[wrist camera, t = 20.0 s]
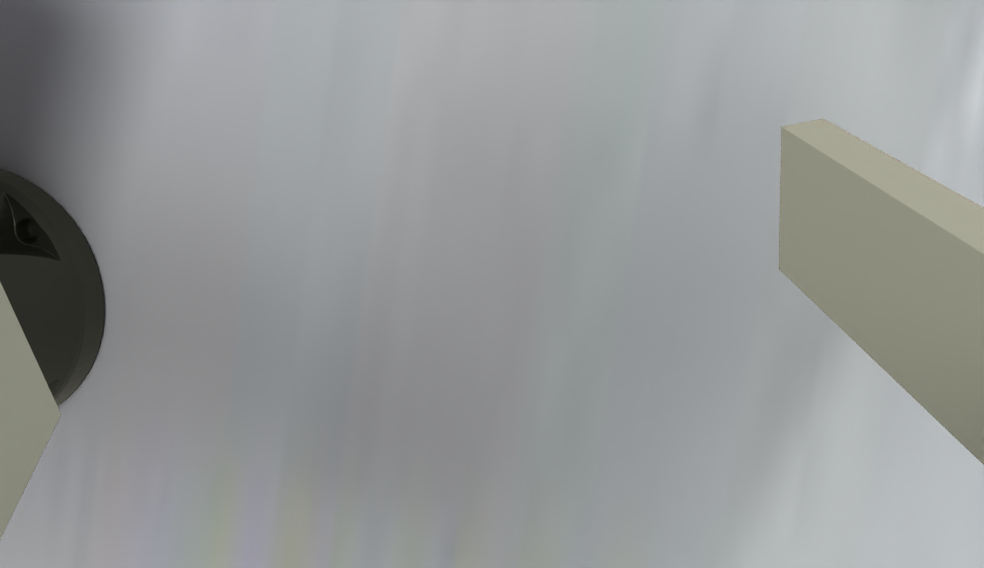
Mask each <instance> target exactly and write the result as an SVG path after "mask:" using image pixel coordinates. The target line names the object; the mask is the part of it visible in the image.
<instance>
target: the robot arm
mask: <svg viewBox="0 0 984 568" xmlns="http://www.w3.org/2000/svg"><path fill="white" fill-rule="evenodd" d="M779 270H780V271H781V272H782V273H783V274H784V275H785V276H787V277H788V278H789V279H790V280H791V281H792V282H793V283H794V284H795V285H796V286H797V287H798V288H799V289H800V290H801V291H802V292H803V293H804V294H805V295H806V296H807V297H808V298H810V299H811V300H812V301H813V302H814V303H815V304H816V305H817V306H818V307H819V308H820V309H821V310H822V311H823V312H824V313H825V314H826V315H827V316H828V317H829V318H830V319H832V320H833V321H834V322H835V323H836V324H837V325H838V326H839V327H840V328H841V329H842V330H843V331H844V332H845V333H846V334H847V335H848V336H849V337H850V338H851V339H852V340H854V341H855V342H856V343H857V344H858V345H859V346H860V347H861V348H862V349H863V350H864V351H865V352H866V353H867V354H868V355H869V356H870V357H871V358H872V359H873V360H874V361H875V362H877V363H878V364H879V365H880V366H881V367H882V368H883V369H884V370H885V371H886V372H887V373H888V374H889V375H890V376H891V377H892V378H893V379H894V380H895V381H896V382H897V383H899V384H900V385H901V386H902V387H903V388H904V389H905V390H906V391H907V392H908V393H909V394H910V395H911V396H912V397H913V398H914V399H915V400H916V401H917V402H918V403H919V404H921V405H922V406H923V407H924V408H925V409H926V410H927V411H928V412H929V413H930V414H931V415H932V416H933V417H934V418H935V419H936V420H937V421H938V422H939V423H940V424H941V425H942V426H944V427H945V428H946V429H947V430H948V431H949V432H950V433H951V434H952V435H953V436H954V437H955V438H956V439H957V440H958V441H959V442H960V443H961V444H962V445H963V446H964V447H966V448H967V449H968V450H969V451H970V452H971V453H972V454H973V455H974V456H975V457H976V458H977V459H978V460H979V461H980V462H981V463H982V464H983V465H984V208H983V207H982V206H980V205H978V204H976V203H974V202H973V201H971V200H969V199H967V198H965V197H964V196H962V195H960V194H958V193H956V192H955V191H953V190H951V189H949V188H947V187H946V186H944V185H942V184H940V183H938V182H937V181H935V180H933V179H931V178H929V177H928V176H926V175H924V174H922V173H920V172H919V171H917V170H915V169H913V168H911V167H910V166H908V165H906V164H904V163H902V162H901V161H899V160H897V159H895V158H893V157H892V156H890V155H888V154H886V153H885V152H883V151H881V150H879V149H877V148H876V147H874V146H872V145H870V144H868V143H867V142H865V141H863V140H861V139H859V138H858V137H856V136H854V135H852V134H850V133H849V132H847V131H845V130H843V129H841V128H840V127H838V126H836V125H834V124H832V123H831V122H829V121H827V120H825V119H820V120H815V121H809V122H804V123H799V124H794V125H788V126H783V127H781V176H780V231H779ZM103 324H104V298H103V290H102V284H101V279H100V275H99V272H98V268H97V265H96V262H95V260H94V257H93V254H92V252H91V250H90V248H89V246H88V244H87V242H86V240H85V238H84V236H83V235H82V233H81V231H80V230H79V228H78V227H77V225H76V224H75V223H74V221H73V220H72V219H71V217H70V216H69V215H68V214H67V213H66V211H65V210H64V209H63V208H62V207H61V206H60V205H59V204H58V203H57V202H56V201H55V200H54V199H52V198H51V197H50V196H49V195H48V194H46V193H45V192H44V191H43V190H41V189H40V188H38V187H37V186H35V185H34V184H32V183H30V182H29V181H27V180H25V179H23V178H21V177H19V176H17V175H14V174H12V173H9V172H6V171H3V170H0V539H1V537H2V535H3V533H4V531H5V529H6V527H7V525H8V523H9V521H10V518H11V516H12V514H13V512H14V510H15V508H16V506H17V504H18V502H19V500H20V498H21V496H22V494H23V492H24V490H25V488H26V486H27V484H28V482H29V480H30V478H31V476H32V474H33V471H34V469H35V467H36V465H37V463H38V461H39V459H40V457H41V455H42V453H43V451H44V449H45V447H46V445H47V443H48V441H49V439H50V437H51V435H52V433H53V431H54V429H55V427H56V424H57V422H58V420H59V418H60V416H61V413H60V411H59V409H58V405H59V404H61V403H62V402H63V401H64V400H66V399H67V398H68V397H69V396H70V395H71V394H72V393H73V392H74V391H75V390H76V389H77V388H78V386H79V385H80V384H81V383H82V381H83V380H84V378H85V377H86V375H87V374H88V372H89V370H90V368H91V366H92V364H93V362H94V360H95V357H96V355H97V352H98V349H99V345H100V342H101V337H102V332H103Z"/></svg>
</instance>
